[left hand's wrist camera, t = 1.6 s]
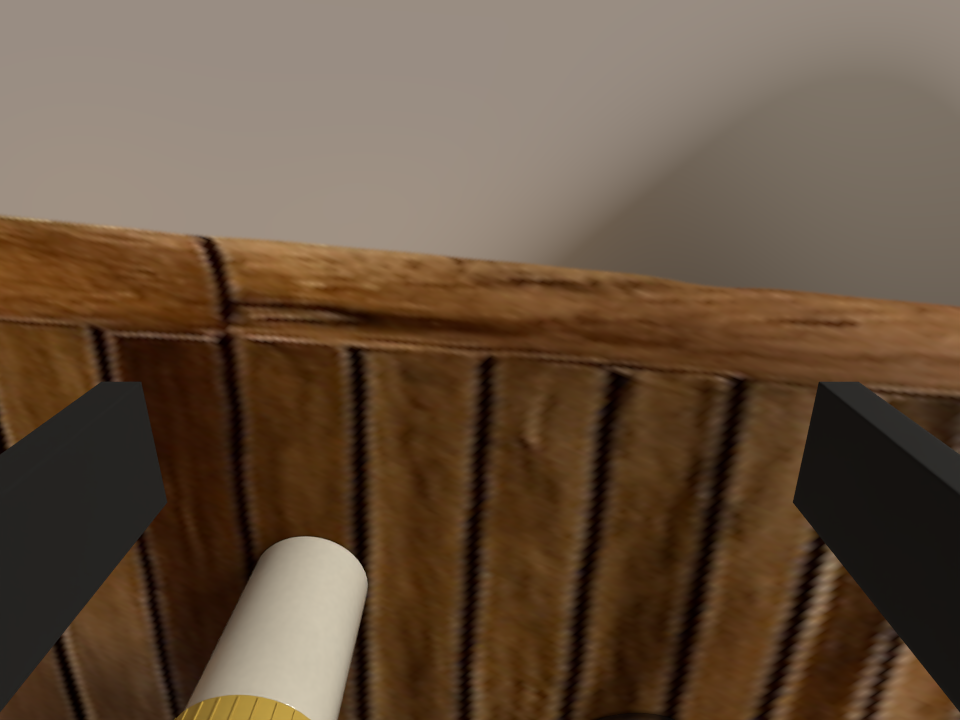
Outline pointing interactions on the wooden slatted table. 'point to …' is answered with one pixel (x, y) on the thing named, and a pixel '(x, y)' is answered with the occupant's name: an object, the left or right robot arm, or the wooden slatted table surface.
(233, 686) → the jar
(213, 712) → the lid
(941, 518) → the left robot arm
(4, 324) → the wooden slatted table surface
